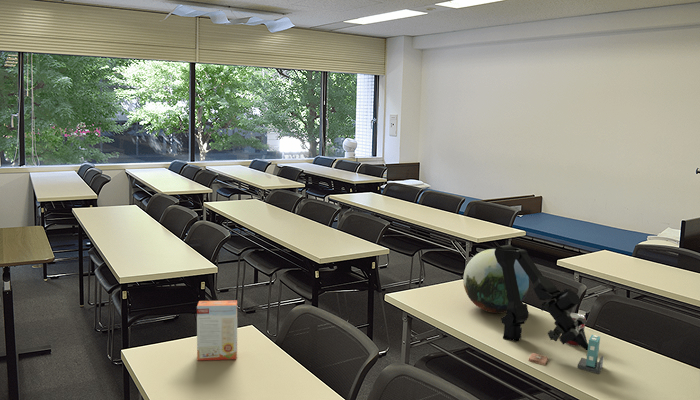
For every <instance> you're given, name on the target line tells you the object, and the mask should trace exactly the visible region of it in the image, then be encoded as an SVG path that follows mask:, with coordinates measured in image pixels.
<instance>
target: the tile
mask: <svg viewBox="0 0 700 400" xmlns="http://www.w3.org/2000/svg"><path fill="white" fill-rule="evenodd" d="M528 357H529V358H528V362H530V363H536V364H538V365H542V366H546V363H547V362H548V361H549V356H546V355H543V354H538V353H535V352H532V353H531V354H530V356H528Z"/></svg>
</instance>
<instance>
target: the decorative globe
mask: <svg viewBox="0 0 700 400" xmlns="http://www.w3.org/2000/svg"><path fill="white" fill-rule="evenodd" d="M495 250H496V248H489V249H485V250H482V251H480V252H478V253H476V254H475V255H474V256H473V257H471V259H470V260H469V261H468V263H467V265H466V266H465V269H464V271H463V272H464V273H463V287H464V291H465V293H466V295H467V297H468V298H469V300H470V301H471V302H472V303H473V305H475V306H476V307H478V308H479V309H481V310H482V311H486V312H488V313H492V314H499V313H500V314H501V313H506V308H507V305H508V297H507V291H506V286H505V281H504V276H503V271H502V267H501V266H500V265H499V263H498V262H497V260H496V257H495ZM514 269H515V274H516V279H517V284H518V289H519V294H520V299H521V301H522V302H523V301H524V300H525V298H526V297H527V294H528V291H529V286H530V278H529V277H528V276H527V274H526V273H525V271H524V270H523V268H522V267H521V265H520V264H519V263H518V261H517V260H516V261H515V264H514Z"/></svg>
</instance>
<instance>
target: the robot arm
mask: <svg viewBox="0 0 700 400" xmlns="http://www.w3.org/2000/svg"><path fill="white" fill-rule="evenodd" d="M495 249H496V250H495V257H496V260H497V262H498V263H499V265H500V266H501V267H502V271H503V276H504V281H505V286H506V291H507V297H508V305H507V308H506V312H505V315H504V316H502V317H501V318H500V323H501V324H503V325H504V328H503V336H502V339H504V340H508V341H512V342H513V341H514V342H519V341H520V340H521V338H522V333H523V327H522V325H524V324H525V322H526V321H527V320H528V318H529V314H530V312H529V309H528V304H527V303H524V302H523V301H521V299H520V294H519V289H518V284H517V279H516V274H515V269H514V264H515V261H516V260H517V261H518V263H519V264H520V265H521V267H522V268H523V270H524V271H525V273H526V274H527V276H528V277H529V281H531V283H532V285H533V286H532V287H533V291H534V293H535V295H536V297H537V299H538V300H540V301H544V302H542V303H541V307H540V311H542V312H543V311H544V310H546V311H547V312H548V313H549V314H550V316H551V317H552V319H553V320H554V325H555V327H554V329H550V330H549V331H548V333H547V336H548V338H549V339H550V341H554V342H558V340H559V341H560V343H561V345H565V344H566V343H567V342H568V341H574V342H576V343H577V344H578V345H580V346H579V347H580V348H582V349H584V350H585V351H588V343H589V342H588V339H587V337H586V331H585V328H584V327H583V328H581V329H580V328H578V327H579V326H580V325H582V324H583V325H584V324H585V325H586V320H584V319H583V318H580V317H579V318H577V319H576V320H574V319H573V318H572V317H571V315H570V314H571V313H572V312H571V311H570V310H571V309H573V308H575V307H576V306H578V305H579V304H580V303H581V298H580V296H579V294H577V292H575V291H573V290H572V289H571V288H570V287H569V288H565V289H563V290H560V289H559V288H557V286H556V285H555V284H554V283H553V282H552V281H551V280H550V279H548V278H546V277H545V276H544V275H543V274H542V273H541V271H540V269H539V268H538V267H537V265H536V264H535V262H534V261H533V260H532V258H531V256H529V253H528V251H527V250H526V249H521V248H518V247H514V246H512V245H510V244H508V245H499V246H496V248H495ZM546 300H547V301H546Z"/></svg>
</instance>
